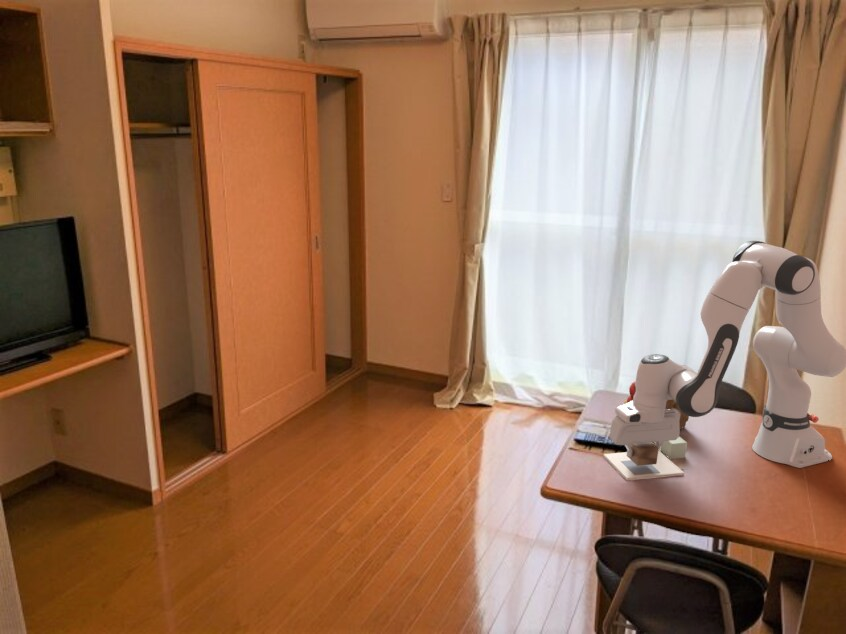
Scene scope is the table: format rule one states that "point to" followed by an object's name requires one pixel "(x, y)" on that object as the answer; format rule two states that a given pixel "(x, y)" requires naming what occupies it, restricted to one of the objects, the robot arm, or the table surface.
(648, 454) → the walnut cube
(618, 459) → the white flat board
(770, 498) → the table surface
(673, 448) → the sage cube
